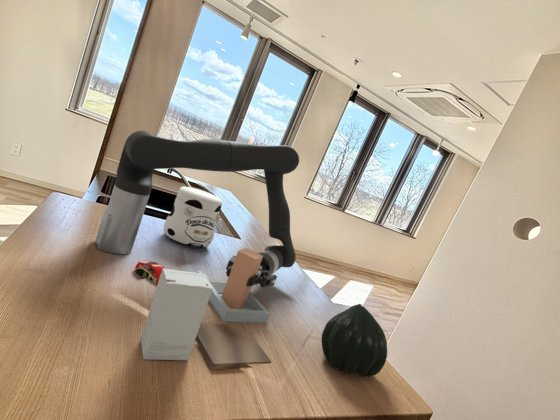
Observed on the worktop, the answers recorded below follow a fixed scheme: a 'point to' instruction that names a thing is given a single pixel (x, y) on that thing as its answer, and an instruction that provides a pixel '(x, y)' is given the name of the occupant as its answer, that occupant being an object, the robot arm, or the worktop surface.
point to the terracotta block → (241, 278)
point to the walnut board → (229, 346)
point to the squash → (355, 342)
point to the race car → (149, 270)
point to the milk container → (193, 218)
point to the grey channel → (247, 313)
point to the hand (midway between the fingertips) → (238, 277)
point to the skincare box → (175, 315)
